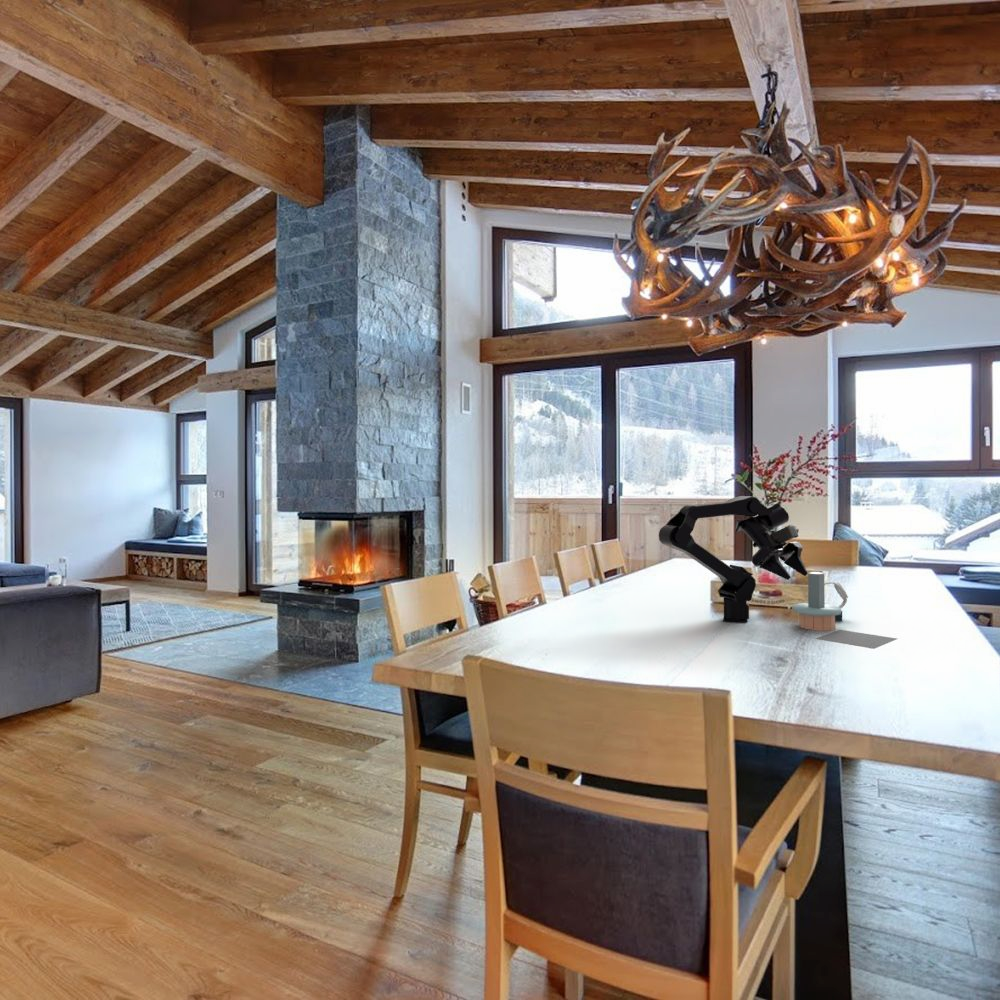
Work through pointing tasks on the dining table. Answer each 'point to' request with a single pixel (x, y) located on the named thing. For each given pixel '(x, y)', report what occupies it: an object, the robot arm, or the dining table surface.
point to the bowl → (816, 622)
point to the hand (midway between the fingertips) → (798, 576)
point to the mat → (856, 639)
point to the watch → (843, 596)
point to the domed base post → (816, 599)
